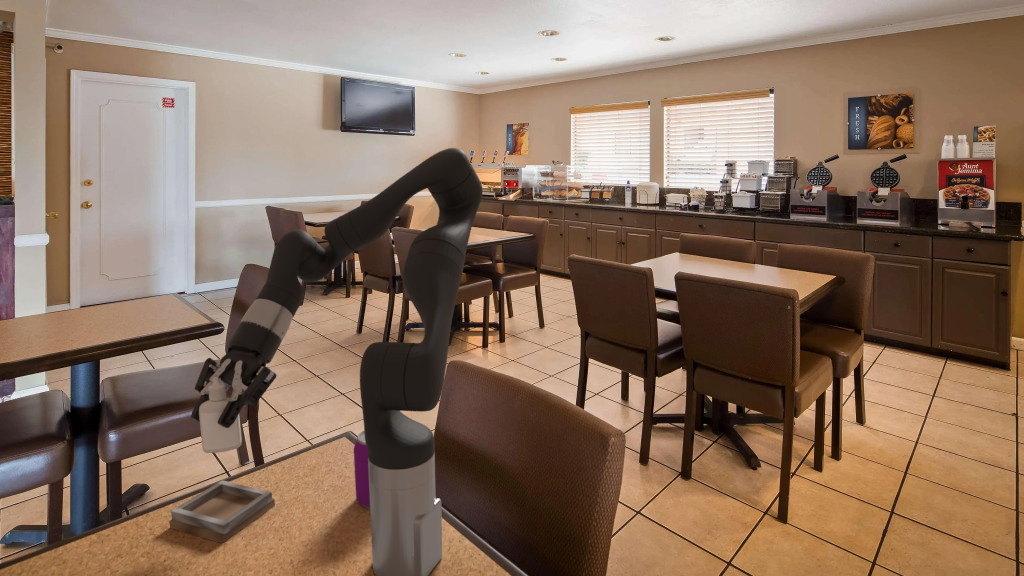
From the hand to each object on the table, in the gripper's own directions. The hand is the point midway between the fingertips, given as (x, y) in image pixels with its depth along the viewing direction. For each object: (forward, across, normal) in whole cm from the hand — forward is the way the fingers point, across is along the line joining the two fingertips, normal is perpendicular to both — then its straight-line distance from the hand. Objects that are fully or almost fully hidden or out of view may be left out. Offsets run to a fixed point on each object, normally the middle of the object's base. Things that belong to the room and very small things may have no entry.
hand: (209, 422), depth 89 cm
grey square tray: (+11, 0, -13) cm, 17 cm away
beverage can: (+2, -21, -23) cm, 31 cm away
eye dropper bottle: (+2, 0, -5) cm, 6 cm away
